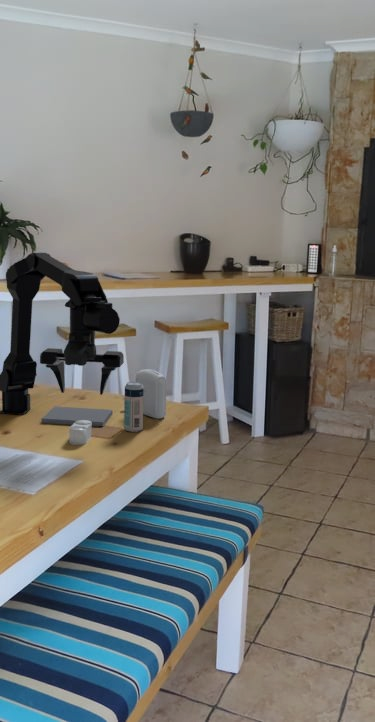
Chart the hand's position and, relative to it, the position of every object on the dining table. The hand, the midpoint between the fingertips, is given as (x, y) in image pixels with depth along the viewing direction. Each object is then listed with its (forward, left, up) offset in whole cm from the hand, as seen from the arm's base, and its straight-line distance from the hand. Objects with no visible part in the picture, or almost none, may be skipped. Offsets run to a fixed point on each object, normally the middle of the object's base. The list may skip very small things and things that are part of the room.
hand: (82, 393), depth 164 cm
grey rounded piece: (0, +1, -11) cm, 11 cm away
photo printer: (+13, +25, -11) cm, 30 cm away
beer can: (+11, +10, -11) cm, 18 cm away
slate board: (-5, +17, -11) cm, 21 cm away
